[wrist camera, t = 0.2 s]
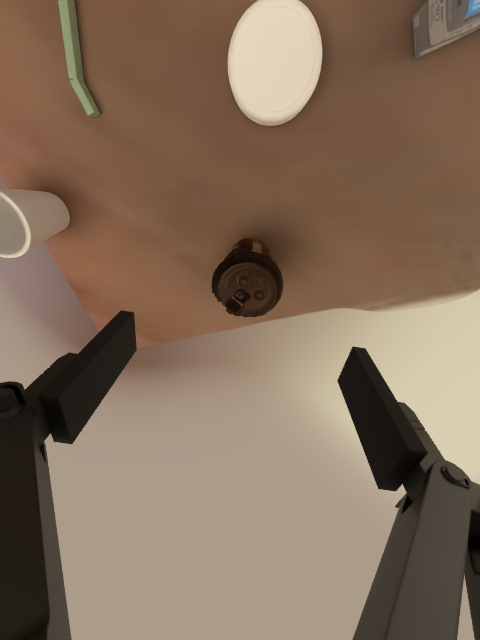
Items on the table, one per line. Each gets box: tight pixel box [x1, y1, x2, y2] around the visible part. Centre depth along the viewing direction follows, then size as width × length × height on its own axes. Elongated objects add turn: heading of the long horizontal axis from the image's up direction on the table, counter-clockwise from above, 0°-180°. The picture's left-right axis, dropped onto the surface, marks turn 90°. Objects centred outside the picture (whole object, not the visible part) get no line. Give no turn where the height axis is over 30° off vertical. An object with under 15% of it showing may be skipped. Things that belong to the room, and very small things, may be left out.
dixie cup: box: [0, 188, 70, 258], centre depth 35 cm, size 8×8×10 cm
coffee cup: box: [212, 239, 283, 317], centre depth 36 cm, size 9×8×13 cm
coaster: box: [228, 0, 322, 126], centre depth 29 cm, size 10×10×4 cm
